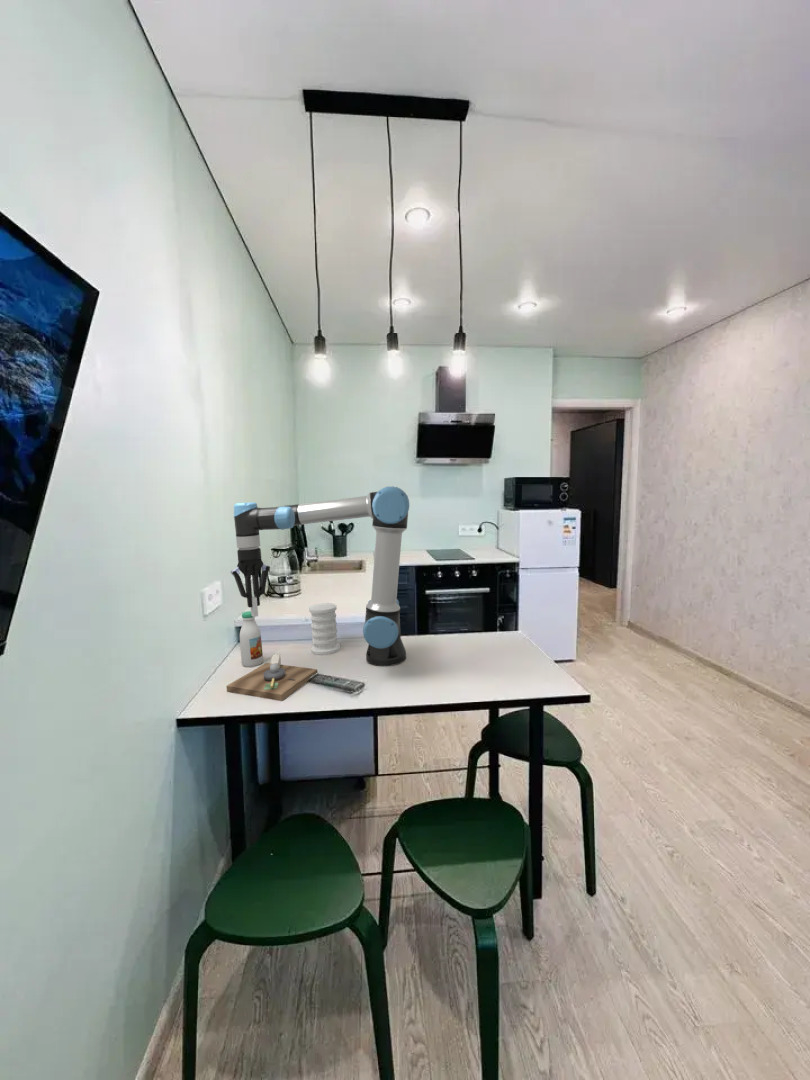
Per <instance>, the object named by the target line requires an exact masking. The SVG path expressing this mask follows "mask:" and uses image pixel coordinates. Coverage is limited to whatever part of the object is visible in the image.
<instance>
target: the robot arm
mask: <svg viewBox="0 0 810 1080" xmlns="http://www.w3.org/2000/svg"><path fill="white" fill-rule="evenodd" d="M409 510H410V499H409V497H408V495H407V494H406V492H405V491H404V490H403V489H401V488H400V487H398V486H393V485H392V486H384V487H383V488H381V489H379V490H378V491H372V492H369V493H368V494H367V495H363V496H354V497H347V498H346V497H345V498H339V499H331V500H330V499H329V500H322V501H315V502H307V503H299V504H298V503H297V504H287V505H283V506H281V505H280V506H274V507H273V506H271V507H258V504H257V503H256V502H255V501H254V502H253V501H252V502H237V503H235V504H234V505H233V519H234V528H235V540H236V548H237V551H236V553H237V565H236V568H235V569H233V570H231V571H230V574H231V575H232V576H233V577H234V579H235V583H236V585H237V589H238V591H239V594H240V596H241V597H242V598H245V599H246V602H247V603H246V604H247V607H248V608H250V611H251V616H253V617H255V618H256V617H259V608H258V607H259V606H261V602H260V598H261V596H262V595H264V594H265V593H266V585H267V579H268V573H269V572H270V569H271V566H269V565H266V564H264V562H263V560H262V550H261V549H262V548H260V547H261V538H260V536H261V535H260V531H265V530H269V531H270V530H272V531H273V530H288V529H292V528H294V526H303V525H308V524H317V523H318V524H319V523H326V522H336V521H344V520H350V519H359V518H360V519H361V518H369V517H370V518H371V519H372V527H373V529H374V530H375V531H376V533H375V545H374V546H375V547H374V561H373V570H372V572H373V573H372V585H371V597H370V600H369V601H368V602H367V603H366V607H365V616H364V625H363V627H362V633H363V634H362V635H363V638H364V640H365V642H366V643H367V644H368V646H367V650H366V653H365V657H366V658H365V659H366V662H367V663H368V664H370V665H373V666H376V667H377V666H379V667H389V666H394V665H399V664H400V663H403V662H405V661H406V660H407V651H406V648H405V645H404V643H403V640H402V638H401V623H400V622H401V618H400V613H401V607H400V602H399V599H398V598H397V596H398V584H399V573H400V564H401V563H400V561H401V550H402V548H401V547H402V538H403V537H402V535H403V533H404V532H405V531H406V530H408V520H409ZM260 571H261V573H260V581H259V572H260ZM240 572H241V574H242V575H243V578H244V583H243V581H242V578H241V576H240ZM244 585H245V586H244ZM252 588H253V592H252Z"/></svg>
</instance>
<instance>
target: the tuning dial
mask: <svg viewBox="0 0 810 1080" xmlns="http://www.w3.org/2000/svg"><path fill="white" fill-rule="evenodd" d="M270 661H271V662H270V663H271V665H270V669H269V670H267V671H265V672H264V673H263V675H264V679H265V680H272V682H271V686H270V687H271V688H273V685H274V680H278V679H281V678H283V677H284V676H285V670H284V669H283V668H280V665H282V663H281V654H280V653H276V654H273V655H272V658H271V660H270Z"/></svg>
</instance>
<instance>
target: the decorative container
mask: <svg viewBox="0 0 810 1080" xmlns="http://www.w3.org/2000/svg"><path fill="white" fill-rule="evenodd" d="M336 610H337V605H336V604H335V603H329V602H327V603H326V602H325V603H318V604H313V605H311V606H309V609H308V612H309V613H310V614H311V615H310V621H311V624H310V626H311V629H312V630H311V635H312V641H311V642H312V644H313V645H312V646H311V648H310V651H311V653H312V654H313V655H314V656H315V655H316V656H327V655H332V654H335V653H337V652H339V651H340V650H341V644H340V643H338V639H339V638H338V635H337V634H338V628H337V620H336V618H337V614H336Z"/></svg>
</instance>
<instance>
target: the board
mask: <svg viewBox="0 0 810 1080" xmlns="http://www.w3.org/2000/svg"><path fill="white" fill-rule="evenodd" d="M270 665H271V662H265V663H264V664H262V665H260V666H258V667H256V668H255V669H253V670H252V671H250V672H248V673H247V674H245V675H242V676H241V677H239V678H237V679H236V680H234V681H232V682H231V683H228V684H227V685H226V692H227V693H234V694H239V695H245V696H252V697H258V698H262V699H263V698H264V699H268V700H275V701H284V700H286V699H287V698H288V697H289V696H291V695H292V694H294V693H295V692H296V691H298V690H299V689H300V688H301V687H303V686H304V685H305V683H306V684H307V683H308V682H309V681H308V680H309V678H310V677H311V676H312V675H314V674H316V673H319V672H318V669H317V668H312V667H303V666H297V665H288V664H281V665H280V668H283V669H284V670H285V676H284V677H283V678H281V679H278V680H274V685H273V688H271V687H270V686H271V682H272V680H265V679H264V675H263V673H264V672H265V671H267V670H269V669H270ZM307 681H308V682H307Z"/></svg>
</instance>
